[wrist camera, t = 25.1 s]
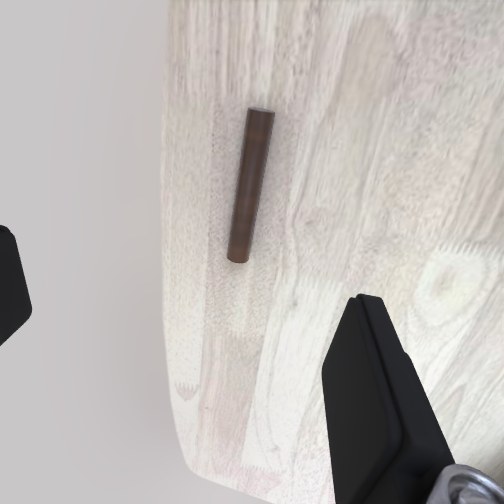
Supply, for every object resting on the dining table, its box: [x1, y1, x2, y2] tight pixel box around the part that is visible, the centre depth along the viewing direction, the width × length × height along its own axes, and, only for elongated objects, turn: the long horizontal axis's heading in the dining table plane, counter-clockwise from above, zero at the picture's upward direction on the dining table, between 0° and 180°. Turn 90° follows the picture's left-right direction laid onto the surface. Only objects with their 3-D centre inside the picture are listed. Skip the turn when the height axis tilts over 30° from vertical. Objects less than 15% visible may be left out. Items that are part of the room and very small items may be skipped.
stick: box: [227, 107, 275, 263], centre depth 21 cm, size 10×2×2 cm, turn 171°
